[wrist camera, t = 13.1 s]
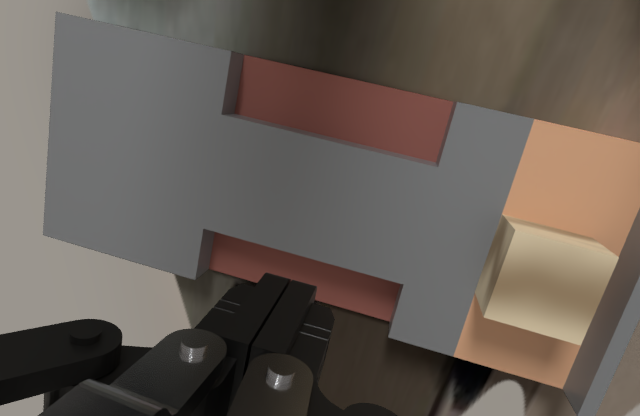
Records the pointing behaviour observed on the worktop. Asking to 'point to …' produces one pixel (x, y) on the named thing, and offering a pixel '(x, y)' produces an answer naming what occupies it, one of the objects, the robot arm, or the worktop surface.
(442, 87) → the worktop surface
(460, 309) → the trap deck
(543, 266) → the maple block
